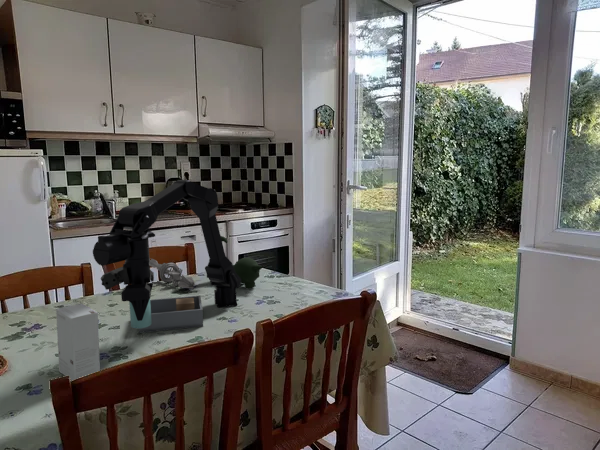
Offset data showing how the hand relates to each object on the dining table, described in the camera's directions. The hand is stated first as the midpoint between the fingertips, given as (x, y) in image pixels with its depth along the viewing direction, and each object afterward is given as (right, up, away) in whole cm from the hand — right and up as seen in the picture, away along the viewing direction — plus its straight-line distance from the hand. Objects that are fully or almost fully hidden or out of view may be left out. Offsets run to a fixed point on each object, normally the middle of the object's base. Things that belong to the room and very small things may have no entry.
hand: (140, 316), depth 110 cm
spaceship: (-10, +1, +56) cm, 57 cm away
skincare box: (-8, -10, -14) cm, 19 cm away
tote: (+3, -5, +16) cm, 17 cm away
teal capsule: (0, -2, 0) cm, 2 cm away
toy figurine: (+17, 0, +52) cm, 55 cm away
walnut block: (+7, -4, +17) cm, 19 cm away
